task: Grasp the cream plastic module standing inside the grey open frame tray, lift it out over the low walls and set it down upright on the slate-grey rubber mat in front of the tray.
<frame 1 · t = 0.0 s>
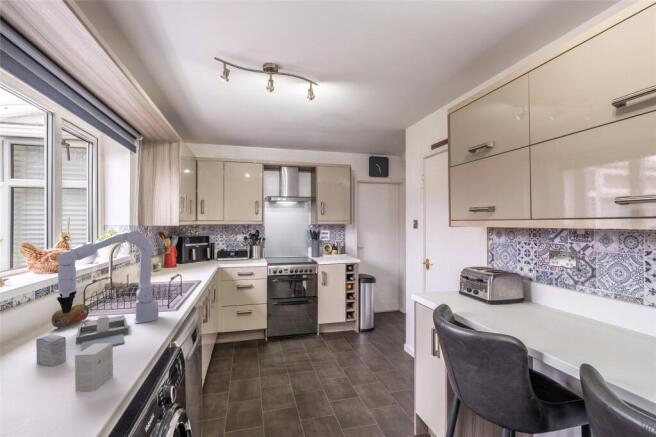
hand: (67, 310, 125), 10 cm above the worktop, tool pointing down, fingers open, 7 cm apart
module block: (102, 324, 126), in the grey open frame tray
grey open frame tray: (103, 333, 126), on the worktop
medicine box: (51, 363, 100), on the worktop
mat: (103, 343, 115), on the worktop
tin: (70, 324, 137), on the worktop
small box: (94, 384, 87), on the worktop
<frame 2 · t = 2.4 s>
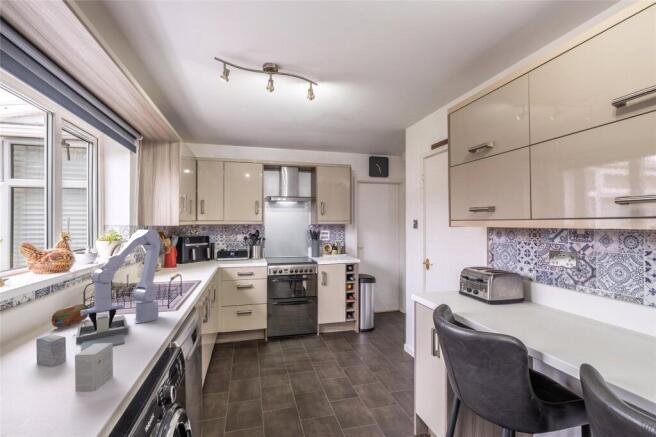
hand: (102, 328, 126), 2 cm above the worktop, tool pointing down, fingers closed on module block, 4 cm apart
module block: (102, 324, 126), in the grey open frame tray, touching gripper
everything else where it was.
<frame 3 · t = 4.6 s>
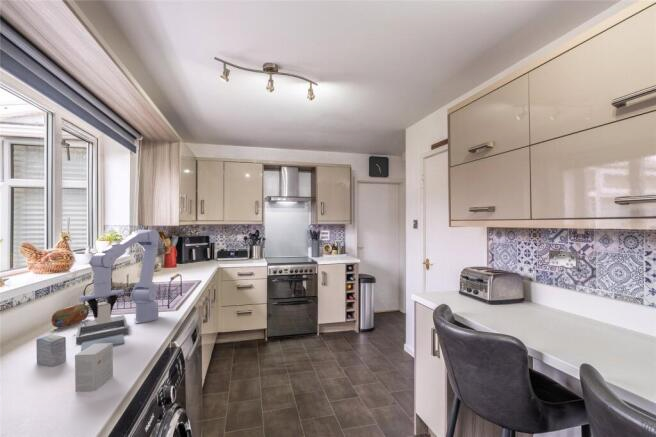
hand: (102, 315, 120), 9 cm above the worktop, tool pointing down, fingers closed on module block, 4 cm apart
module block: (102, 312, 120), point 11 cm above the worktop, touching gripper
everything else where it was.
when the fingers open (4 cm above the worktop, at t = 6.9 s): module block stays where it is, resting on mat.
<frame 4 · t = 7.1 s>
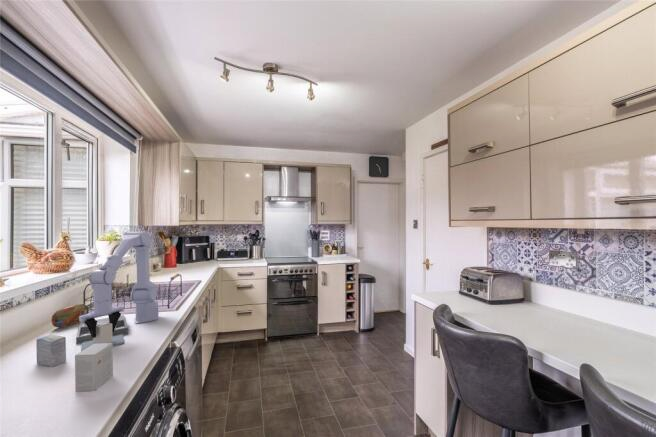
hand: (103, 334, 115), 4 cm above the worktop, tool pointing down, fingers open, 6 cm apart
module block: (102, 332, 115), on the mat, point 4 cm above the worktop
everything else where it was.
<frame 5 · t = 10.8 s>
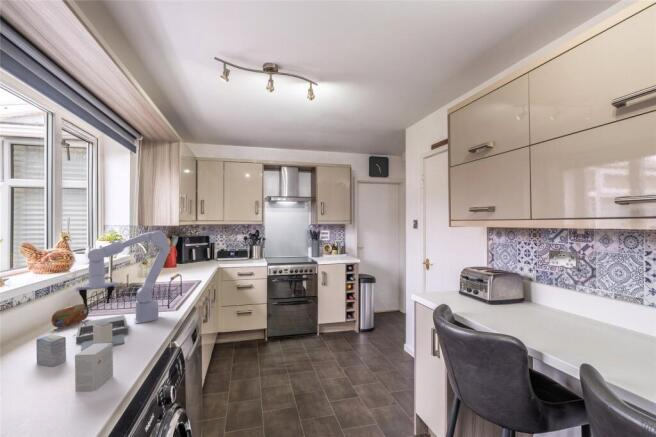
hand: (97, 304, 132), 10 cm above the worktop, tool pointing down, fingers open, 7 cm apart
nothing on the worktop moved.
at the end: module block inside the target area on the mat (0.2 cm from its centre), point 4.2 cm above the mat's base; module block tilted 0°; the gripper is holding nothing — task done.
